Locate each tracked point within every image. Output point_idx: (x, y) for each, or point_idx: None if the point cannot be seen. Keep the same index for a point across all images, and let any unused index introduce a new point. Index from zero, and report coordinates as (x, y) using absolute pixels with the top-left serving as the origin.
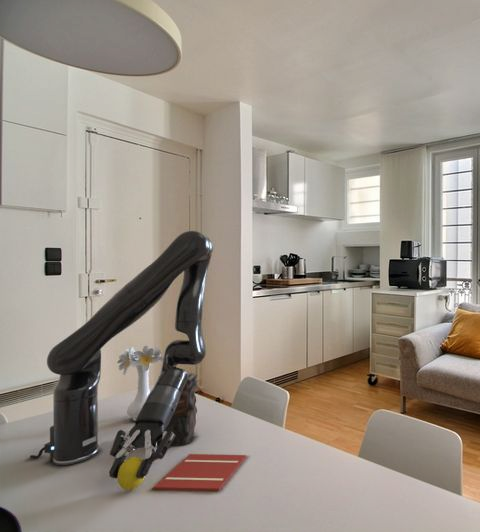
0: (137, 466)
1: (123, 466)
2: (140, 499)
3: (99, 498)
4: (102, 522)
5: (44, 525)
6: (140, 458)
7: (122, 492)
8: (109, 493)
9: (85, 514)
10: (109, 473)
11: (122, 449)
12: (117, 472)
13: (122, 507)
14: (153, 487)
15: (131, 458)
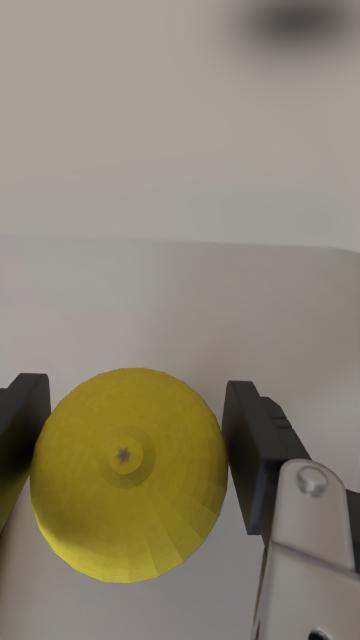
0: (50, 416)
1: (161, 382)
2: None
3: None
4: (119, 255)
5: (312, 249)
6: (75, 540)
7: None
8: None
9: (221, 295)
10: (266, 398)
11: (331, 547)
12: (230, 433)
13: (97, 332)
14: None
15: (119, 436)
